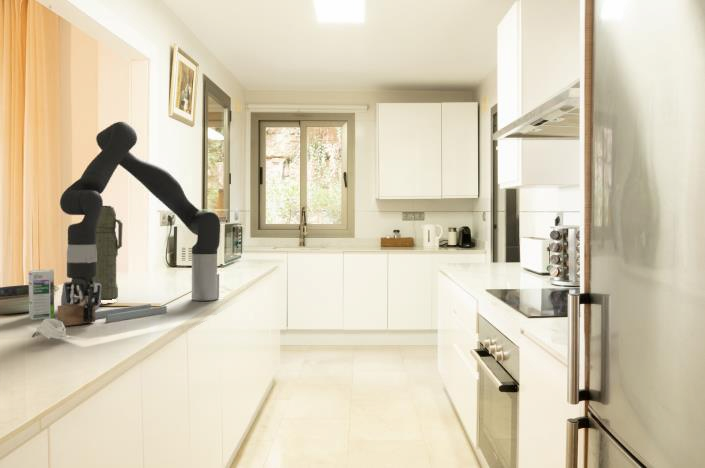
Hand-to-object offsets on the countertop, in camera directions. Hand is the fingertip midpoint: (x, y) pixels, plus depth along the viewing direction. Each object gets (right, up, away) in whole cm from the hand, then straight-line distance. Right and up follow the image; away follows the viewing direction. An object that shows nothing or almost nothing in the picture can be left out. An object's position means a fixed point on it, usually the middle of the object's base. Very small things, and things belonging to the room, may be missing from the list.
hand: (82, 319), depth 138 cm
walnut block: (-1, -1, -1) cm, 2 cm away
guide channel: (+8, -1, +13) cm, 15 cm away
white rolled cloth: (+2, -2, -18) cm, 18 cm away
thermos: (-11, -1, +34) cm, 35 cm away
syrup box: (-16, -1, +8) cm, 18 cm away
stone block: (-10, -1, +18) cm, 21 cm away
